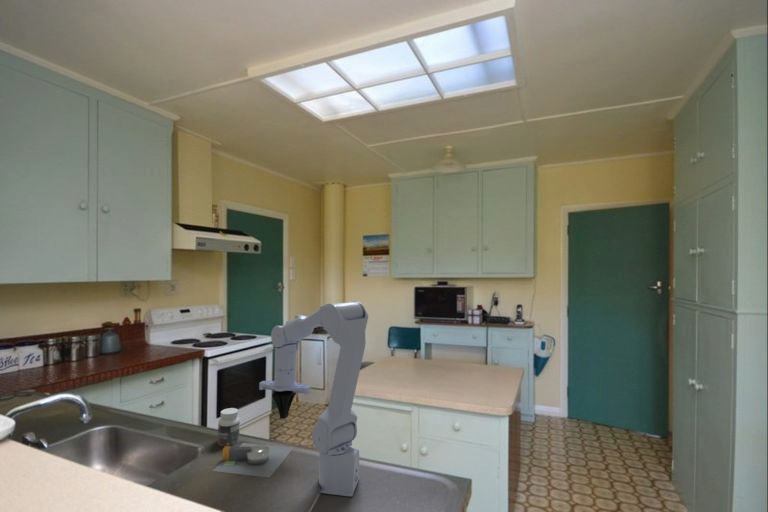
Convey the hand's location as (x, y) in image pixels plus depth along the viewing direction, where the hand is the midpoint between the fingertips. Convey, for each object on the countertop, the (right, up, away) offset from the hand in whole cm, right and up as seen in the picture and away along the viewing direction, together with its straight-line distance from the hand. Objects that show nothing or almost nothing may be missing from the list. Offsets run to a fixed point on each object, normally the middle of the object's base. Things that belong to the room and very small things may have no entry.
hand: (284, 417), depth 108 cm
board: (-6, -10, -6) cm, 13 cm away
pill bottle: (-17, -10, +4) cm, 20 cm away
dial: (-8, -8, -6) cm, 13 cm away
